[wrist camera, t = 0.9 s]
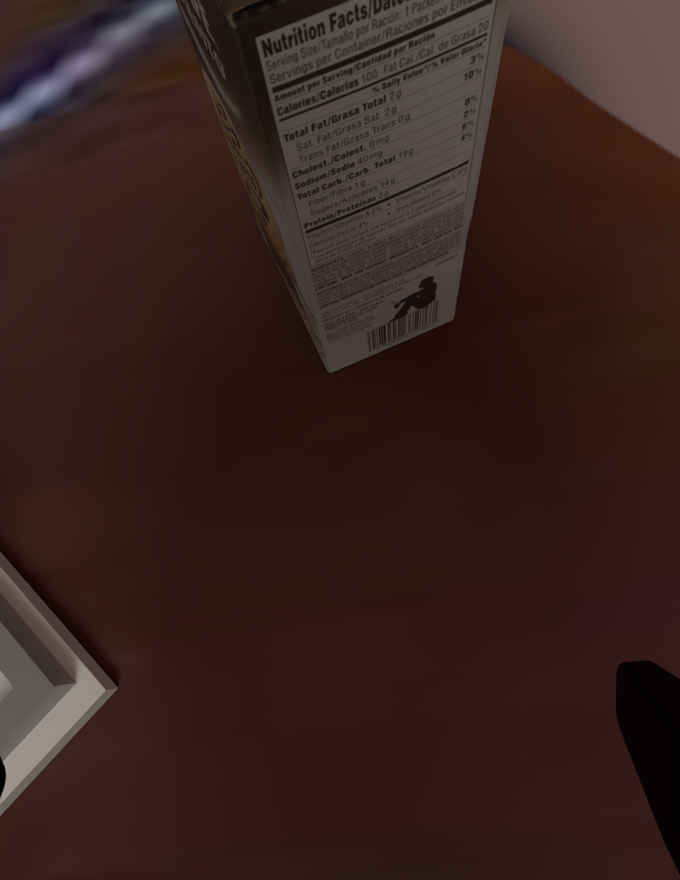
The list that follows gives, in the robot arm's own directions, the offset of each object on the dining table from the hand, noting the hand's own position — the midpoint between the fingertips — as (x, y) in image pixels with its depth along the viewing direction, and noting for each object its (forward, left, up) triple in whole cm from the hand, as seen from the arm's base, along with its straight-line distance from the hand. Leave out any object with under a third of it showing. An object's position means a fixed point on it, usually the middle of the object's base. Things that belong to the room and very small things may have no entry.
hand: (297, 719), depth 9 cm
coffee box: (+17, -2, -15) cm, 22 cm away
